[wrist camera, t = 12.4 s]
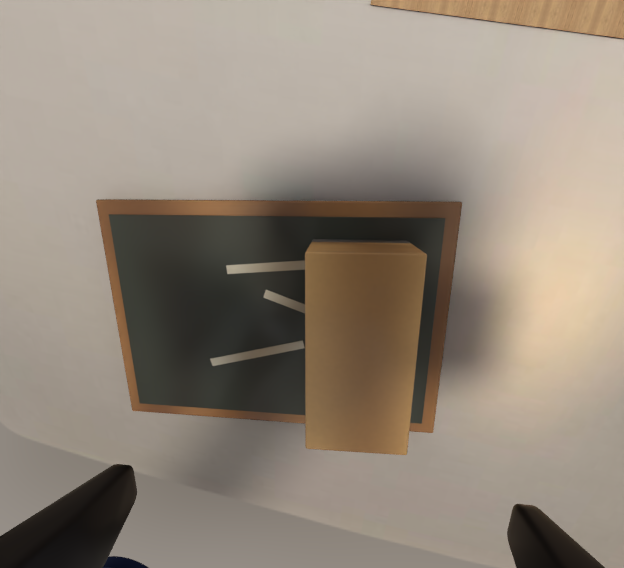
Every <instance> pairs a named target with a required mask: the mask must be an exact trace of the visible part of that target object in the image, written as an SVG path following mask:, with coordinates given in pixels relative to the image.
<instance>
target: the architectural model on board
mask: <svg viewBox="0 0 624 568" xmlns="http://www.w3.org/2000/svg"><path fill="white" fill-rule="evenodd" d="M371 5H377V6H385V7H392V8H400V9H407V10H415V11H422V12H430V13H437V14H445V15H452V16H460V17H467V18H475V19H482V20H490V21H497V22H505V23H512V24H520V25H527V26H535V27H542V28H550V29H557V30H564V31H572V32H579V33H587V34H594V35H602V36H609V37H617V38H624V0H371Z"/></svg>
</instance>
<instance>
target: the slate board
mask: <svg viewBox="0 0 624 568" xmlns="http://www.w3.org/2000/svg"><path fill="white" fill-rule="evenodd" d="M96 203H97V209H98V214H99V220H100V226H101V232H102V238H103V243H104V249H105V255H106V261H107V266H108V272H109V278H110V284H111V290H112V295H113V301H114V307H115V313H116V319H117V324H118V330H119V336H120V342H121V347H122V353H123V359H124V365H125V371H126V376H127V382H128V388H129V394H130V400H131V405H132V410H133V411H144V412H158V413H171V414H185V415H198V416H212V417H225V418H239V419H252V420H266V421H279V422H293V423H306V414H305V252H306V251H307V249H308V247H309V245H310V244H311V242H312V240H313V239H343V240H407V241H408V242H410V243H411V244H413V245H414V246H415V247H417V248H418V249H420V250H421V251H423V252H424V253H426V254H427V261H426V271H425V281H424V290H423V300H422V310H421V320H420V330H419V340H418V349H417V359H416V369H415V379H414V389H413V399H412V409H411V418H410V428H409V431H414V432H428V433H433V428H434V420H435V412H436V404H437V396H438V389H439V381H440V373H441V365H442V357H443V349H444V341H445V333H446V325H447V318H448V310H449V302H450V294H451V286H452V278H453V270H454V262H455V255H456V247H457V239H458V231H459V223H460V215H461V207H462V202H425V201H266V200H107V199H106V200H96Z"/></svg>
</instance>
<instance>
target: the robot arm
mask: <svg viewBox="0 0 624 568" xmlns="http://www.w3.org/2000/svg"><path fill="white" fill-rule="evenodd" d="M136 495H137V488H136V482H135V476H134V471H133V468H132V467H131V466H130V465H121V464H116V465H113V466H111V467H109V468H108V469H106V470H105V471H103V472H102V473H100V474H98V475H97V476H95V477H93V478H92V479H90V480H89V481H87V482H86V483H84V484H82V485H81V486H79V487H78V488H76V489H75V490H73V491H71V492H70V493H69V494H67V495H65V496H63V497H62V498H60V499H59V500H57V501H56V502H54V503H53V504H51V505H50V506H48V507H46V508H44V509H43V510H41V511H40V512H38V513H36V514H35V515H33V516H32V517H30V518H29V519H27V520H25V521H24V522H22V523H21V524H19V525H17V526H16V527H14V528H13V529H11V530H10V531H8V532H6V533H5V534H3V535H2V536H0V568H103V566H104V564H105V562H106V560H107V558H108V556H109V554H110V552H111V550H112V548H113V546H114V543H115V542H116V539H117V537H118V535H119V533H120V531H121V529H122V527H123V525H124V523H125V521H126V519H127V517H128V515H129V513H130V510H131V508H132V506H133V504H134V502H135V499H136ZM507 535H508V542H509V545H510V549H511V552H512V555H513V558H514V561H515V564H516V567H517V568H605V567H604V566H602V565H601V564H600V563H599V562H598V561H597V560H596V559H595V558H593V557H592V556H591V555H590V554H589V553H588V552H587V551H586V550H585V549H583V548H582V547H581V546H580V545H579V544H578V543H577V542H576V541H574V540H573V539H572V538H571V537H570V536H569V535H568V534H567V533H566V532H564V531H563V530H562V529H561V528H560V527H559V526H558V525H557V524H555V523H554V522H553V521H552V520H551V519H550V518H549V517H548V516H547V515H545V514H544V513H543V512H542V511H541V510H540V509H538V508H537V507H535V506H532V505H524V504H516V505H515V506H514V507H513V510H512V514H511V518H510V522H509V526H508V532H507Z"/></svg>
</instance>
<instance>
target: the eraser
mask: <svg viewBox="0 0 624 568" xmlns="http://www.w3.org/2000/svg"><path fill="white" fill-rule="evenodd" d="M426 261H427V254H426V253H424V252H423V251H421V250H420V249H418V248H417V247H415V246H414V245H413V244H411V243H410V242H408V241H407V240H343V239H313V240H312V242H311V244H310V245H309V247H308V249H307V251H306V252H305V414H306V448H307V449H320V450H335V451H351V452H366V453H381V454H396V455H406V454H407V448H408V438H409V428H410V418H411V409H412V399H413V389H414V379H415V369H416V359H417V349H418V340H419V330H420V320H421V310H422V300H423V290H424V281H425V271H426Z"/></svg>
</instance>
